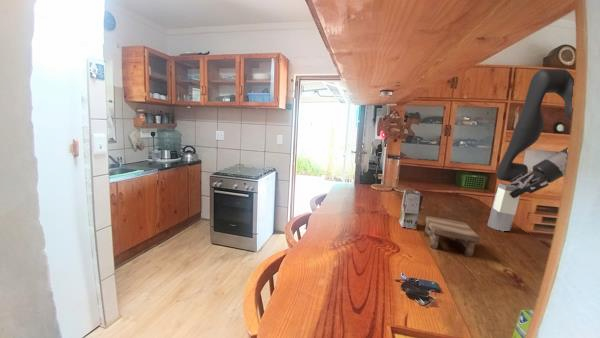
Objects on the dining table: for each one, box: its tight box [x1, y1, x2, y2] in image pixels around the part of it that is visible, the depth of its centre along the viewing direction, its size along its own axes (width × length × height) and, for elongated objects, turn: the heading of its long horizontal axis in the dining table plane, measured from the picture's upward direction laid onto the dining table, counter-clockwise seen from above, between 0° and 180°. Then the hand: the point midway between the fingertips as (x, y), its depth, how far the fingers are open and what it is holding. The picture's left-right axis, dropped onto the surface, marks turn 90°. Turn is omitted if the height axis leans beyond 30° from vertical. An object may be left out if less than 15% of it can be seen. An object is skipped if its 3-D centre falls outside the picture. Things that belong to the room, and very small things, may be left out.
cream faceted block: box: [492, 182, 521, 216], centre depth 98 cm, size 6×5×10 cm
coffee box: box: [398, 188, 424, 230], centre depth 119 cm, size 9×6×16 cm
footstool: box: [423, 215, 480, 258], centre depth 103 cm, size 15×15×8 cm
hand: (507, 193), depth 97 cm, fingers closed on cream faceted block, 5 cm apart
